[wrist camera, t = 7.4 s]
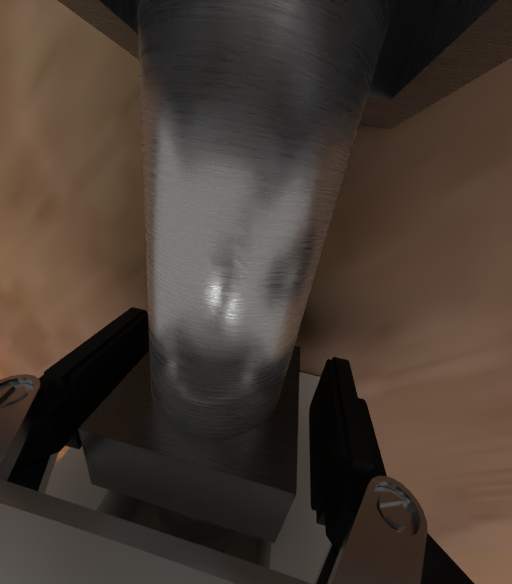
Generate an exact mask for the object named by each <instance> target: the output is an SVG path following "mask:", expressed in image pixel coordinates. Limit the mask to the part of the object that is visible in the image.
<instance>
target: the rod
mask: <svg viewBox="0 0 512 584" xmlns="http://www.w3.org/2000/svg"><path fill="white" fill-rule="evenodd" d="M394 4H395V0H137V15H138V42H139V70H140V98H141V126H142V154H143V182H144V210H145V238H146V266H147V293H148V321H149V349H150V350H149V351H148V353H147V354H146V355H145V356H144V357H143V358H142V359H141V360H140V361H139V362H138V364H137V365H136V366H135V367H134V368H133V369H132V370H131V371H130V372H129V373H128V374H127V376H126V377H125V378H124V379H123V380H122V381H121V382H120V383H119V384H118V385H117V387H116V388H115V389H114V390H113V391H112V392H111V393H110V394H109V395H108V396H107V398H106V399H105V400H104V401H103V402H102V403H101V404H100V405H99V406H98V407H97V409H96V410H95V411H94V412H93V413H92V414H91V415H90V416H89V417H88V418H87V420H86V421H85V422H84V423H83V424H82V425H81V426H80V427H79V428H78V430H79V434H80V438H81V443H82V447H83V451H84V455H85V459H86V463H87V467H88V471H89V476H90V480H91V484H93V485H96V486H99V487H102V488H105V489H108V490H111V491H114V492H118V493H121V494H124V495H127V496H130V497H133V498H136V499H139V500H142V501H145V502H149V503H152V504H155V516H156V526H157V531H159V532H162V533H165V534H168V535H171V536H174V537H177V538H180V539H183V540H186V541H189V542H192V543H195V544H198V545H201V546H204V547H207V548H210V549H213V550H216V551H219V552H222V553H223V552H224V551H225V550H226V549H227V548H228V547H229V546H230V545H231V543H232V542H233V541H234V539H235V538H236V536H237V535H238V533H239V532H242V533H245V534H248V535H251V536H254V537H257V538H260V539H263V540H267V541H270V542H273V543H275V541H276V539H277V537H278V535H279V532H280V530H281V528H282V526H283V523H284V521H285V519H286V517H287V514H288V512H289V510H290V508H291V505H292V503H293V501H294V499H295V497H296V491H297V451H298V412H299V373H300V347H297V346H295V342H296V339H297V335H298V332H299V328H300V325H301V322H302V318H303V315H304V311H305V308H306V304H307V301H308V298H309V294H310V291H311V287H312V284H313V281H314V277H315V274H316V270H317V267H318V263H319V260H320V257H321V253H322V250H323V246H324V243H325V240H326V236H327V233H328V229H329V226H330V222H331V219H332V216H333V212H334V209H335V205H336V202H337V198H338V195H339V192H340V188H341V185H342V181H343V178H344V175H345V171H346V168H347V164H348V161H349V157H350V154H351V151H352V147H353V144H354V140H355V137H356V133H357V130H358V127H359V123H360V120H361V116H362V113H363V110H364V106H365V103H366V99H367V96H368V92H369V89H370V86H371V82H372V79H373V75H374V72H375V69H376V65H377V62H378V58H379V55H380V51H381V48H382V45H383V41H384V38H385V34H386V31H387V27H388V24H389V21H390V17H391V14H392V10H393V7H394Z"/></svg>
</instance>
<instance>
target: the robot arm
mask: <svg viewBox="0 0 512 584" xmlns="http://www.w3.org/2000/svg"><path fill="white" fill-rule="evenodd" d="M149 350H150V349H149V321H148V314H147V311H145V310H142V309H138V308H130V309H129V310H127V311H126V312H125V313H123V314H122V315H121V316H119V317H118V318H117V319H115V320H114V321H112V322H111V323H110V324H108V325H107V326H106V327H104V328H103V329H102V330H100V331H99V332H98V333H96V334H95V335H94V336H92V337H91V338H89V339H88V340H87V341H85V342H84V343H83V344H81V345H80V346H79V347H77V348H76V349H75V350H73V351H72V352H70V353H69V354H68V355H66V356H65V357H64V358H62V359H61V360H60V361H58V362H57V363H56V364H54V365H53V366H51V367H50V368H49V369H47V370H46V371H45V372H44V375H43V376H42V377H40V378H39V379H38V378H37V377H35V376H33V375H28V374H24V375H15V376H10V377H7V378H4V379H1V380H0V584H311V583H308V582H306V581H303V580H300V579H297V578H295V577H292V576H289V575H286V574H284V573H281V572H278V571H275V570H272V569H269V568H266V567H263V566H260V565H257V564H254V563H251V562H249V561H246V560H243V559H240V558H237V557H234V556H231V555H228V554H225V553H222V552H219V551H216V550H213V549H210V548H207V547H204V546H201V545H198V544H195V543H192V542H189V541H186V540H183V539H180V538H177V537H174V536H171V535H168V534H165V533H162V532H159V531H156V530H153V529H150V528H147V527H144V526H141V525H138V524H135V523H132V522H129V521H126V520H123V519H120V518H117V517H114V516H111V515H108V514H105V513H102V512H99V511H96V510H93V509H90V508H87V507H84V506H81V505H78V504H75V503H72V502H69V501H66V500H63V499H60V498H56V497H53V496H50V495H47V494H45V491H46V488H47V485H48V482H49V479H50V476H51V473H52V470H53V467H54V464H55V461H56V458H57V455H58V452H60V450H61V449H62V448H63V447H64V446H69V447H72V448H75V449H78V450H79V449H80V448H81V447H82V443H81V438H80V434H79V430H78V428H79V427H80V426H81V425H82V424H83V423H84V422H85V421H86V420H87V418H88V417H89V416H90V415H91V414H92V413H93V412H94V411H95V410H96V409H97V407H98V406H99V405H100V404H101V403H102V402H103V401H104V400H105V399H106V398H107V396H108V395H109V394H110V393H111V392H112V391H113V390H114V389H115V388H116V387H117V385H118V384H119V383H120V382H121V381H122V380H123V379H124V378H125V377H126V376H127V374H128V373H129V372H130V371H131V370H132V369H133V368H134V367H135V366H136V365H137V364H138V362H139V361H140V360H141V359H142V358H143V357H144V356H145V355H146V354H147V353H148V351H149ZM309 446H310V498H311V509H312V510H315V511H316V522H317V524H320V525H324V526H325V530H326V536H327V538H328V539H329V541H330V542H331V543H330V546H329V548H328V550H327V553H326V555H325V557H324V560H323V562H322V565H321V567H320V569H319V572H318V574H317V577H316V579H315V581H314V584H474V583H473V582H472V581H471V580H470V579H469V577H468V576H467V575H466V574H465V573H464V572H463V571H462V570H461V569H460V568H459V567H458V566H457V564H456V563H455V562H454V561H453V560H452V559H451V558H450V557H449V556H448V555H447V554H446V553H445V552H444V550H443V549H442V548H441V547H440V546H439V545H438V544H437V543H436V542H435V541H434V540H433V539H432V537H431V536H430V535H429V534H428V533H427V521H426V518H425V515H424V511H423V510H422V508H421V506H420V504H419V502H418V501H417V499H416V498H415V497H414V496H413V494H412V493H411V492H410V491H409V490H408V489H407V488H406V487H405V486H404V485H403V484H401V483H400V482H398V481H396V480H395V479H393V478H390V477H387V475H386V472H385V468H384V464H383V461H382V457H381V454H380V450H379V446H378V443H377V439H376V436H375V432H374V428H373V425H372V421H371V418H370V414H369V411H368V407H367V404H366V401H365V400H364V399H360V398H358V396H357V392H356V388H355V384H354V380H353V376H352V372H351V368H350V364H349V361H348V360H345V359H341V358H337V357H333V358H332V360H329V359H328V360H327V362H326V364H325V367H324V370H323V372H322V375H321V377H320V380H319V383H318V385H317V388H316V391H315V393H314V396H313V399H312V401H311V404H310V408H309Z"/></svg>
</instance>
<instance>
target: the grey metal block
mask: <svg viewBox="0 0 512 584" xmlns="http://www.w3.org/2000/svg"><path fill="white" fill-rule="evenodd" d="M58 1H59V2H61V3H62V4H63V5H65V6H66V7H67V8H69V9H70V10H72V11H73V12H74V13H76V14H77V15H78V16H80V17H81V18H83V19H84V20H85V21H87V22H88V23H89V24H91V25H92V26H94V27H95V28H96V29H98V30H99V31H100V32H102V33H103V34H105V35H106V36H107V37H109V38H110V39H111V40H113V41H114V42H116V43H117V44H118V45H120V46H121V47H122V48H124V49H125V50H127V51H128V52H129V53H131V54H132V55H133V56H135V57H136V58H138V59H139V42H138V15H137V0H58ZM511 57H512V0H395V4H394V7H393V10H392V14H391V17H390V21H389V24H388V27H387V31H386V34H385V38H384V41H383V45H382V48H381V51H380V55H379V58H378V62H377V65H376V69H375V72H374V75H373V79H372V82H371V86H370V89H369V92H368V96H367V99H366V103H365V106H364V110H363V113H362V116H361V120H360V123H359V124H364V125H370V126H377V127H383V128H389V129H391V128H393V127H395V126H397V125H398V124H400V123H402V122H403V121H405V120H407V119H408V118H410V117H412V116H413V115H415V114H417V113H419V112H420V111H422V110H424V109H425V108H427V107H429V106H430V105H432V104H434V103H435V102H437V101H439V100H440V99H442V98H444V97H446V96H447V95H449V94H451V93H452V92H454V91H456V90H457V89H459V88H461V87H462V86H464V85H466V84H468V83H469V82H471V81H473V80H474V79H476V78H478V77H479V76H481V75H483V74H484V73H486V72H488V71H489V70H491V69H493V68H495V67H496V66H498V65H500V64H501V63H503V62H505V61H506V60H508V59H510V58H511Z"/></svg>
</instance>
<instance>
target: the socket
mask: <svg viewBox="0 0 512 584" xmlns="http://www.w3.org/2000/svg"><path fill="white" fill-rule="evenodd" d="M319 380H320V377H318V376H314V375H311V374H307V373H303V372H300V373H299V412H298V451H297V491H296V497H295V499H294V501H293V503H292V505H291V508H290V510H289V512H288V514H287V517H286V519H285V521H284V523H283V526H282V528H281V530H280V532H279V535H278V537H277V539H276V541H275V543H273V542H270V541H267V540H263V539H260V538H257V537H254V536H251V535H248V534H245V533H242V532H239V533H238V535H237V536H236V538H235V539H234V541H233V542H232V543H231V545H230V546H229V547H228V548H227V549H226V550H225V551H224V552H223V553H225V554H228V555H231V556H234V557H237V558H240V559H243V560H246V561H249V562H251V563H254V564H257V565H260V566H263V567H266V568H269V569H272V570H275V571H278V572H281V573H284V574H286V575H289V576H292V577H295V578H297V579H300V580H303V581H306V582H308V583H311V584H314V581H315V579H316V577H317V574H318V572H319V569H320V567H321V565H322V562H323V560H324V557H325V555H326V553H327V550H328V548H329V546H330V543H331V542H330V541H329V539H328V538H327V536H326V530H325V526H324V525H320V524H317V522H316V511H315V510H312V509H311V498H310V446H309V408H310V404H311V401H312V399H313V396H314V393H315V391H316V388H317V385H318V383H319ZM45 494H47V495H50V496H53V497H56V498H60V499H63V500H66V501H69V502H72V503H75V504H78V505H81V506H84V507H87V508H90V509H93V510H96V511H99V512H102V513H105V514H108V515H111V516H114V517H117V518H120V519H123V520H126V521H129V522H132V523H135V524H138V525H141V526H144V527H147V528H150V529H153V530H156V531H157V526H156V516H155V504H152V503H149V502H145V501H142V500H139V499H136V498H133V497H130V496H127V495H124V494H121V493H118V492H114V491H111V490H108V489H105V488H102V487H99V486H96V485H93V484H91V480H90V476H89V471H88V467H87V463H86V459H85V455H84V451H83V447H81V448H80V449H79V450H78V449H75V448H72V447H71V448H70V449H69V450H68V451H67V452H66V453H65V454H64V456H63V457H62V458H61V459H60V460H59V461H58V463H57V464H56V465H55V466H54V467H53V470H52V473H51V476H50V479H49V482H48V485H47V488H46V491H45Z"/></svg>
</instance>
